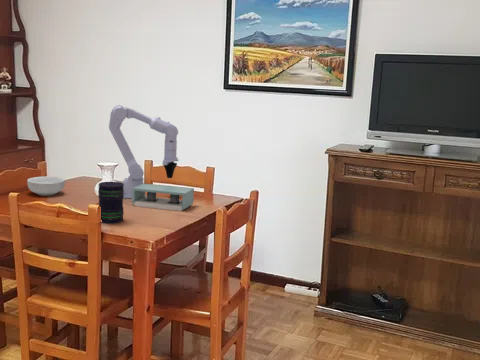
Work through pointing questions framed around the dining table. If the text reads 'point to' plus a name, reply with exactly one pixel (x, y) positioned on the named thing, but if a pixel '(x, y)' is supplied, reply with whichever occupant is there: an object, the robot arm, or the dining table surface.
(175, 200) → the block
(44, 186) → the cereal bowl
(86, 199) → the dining table surface
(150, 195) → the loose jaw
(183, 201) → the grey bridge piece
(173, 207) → the grey base plate
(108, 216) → the storage jar
